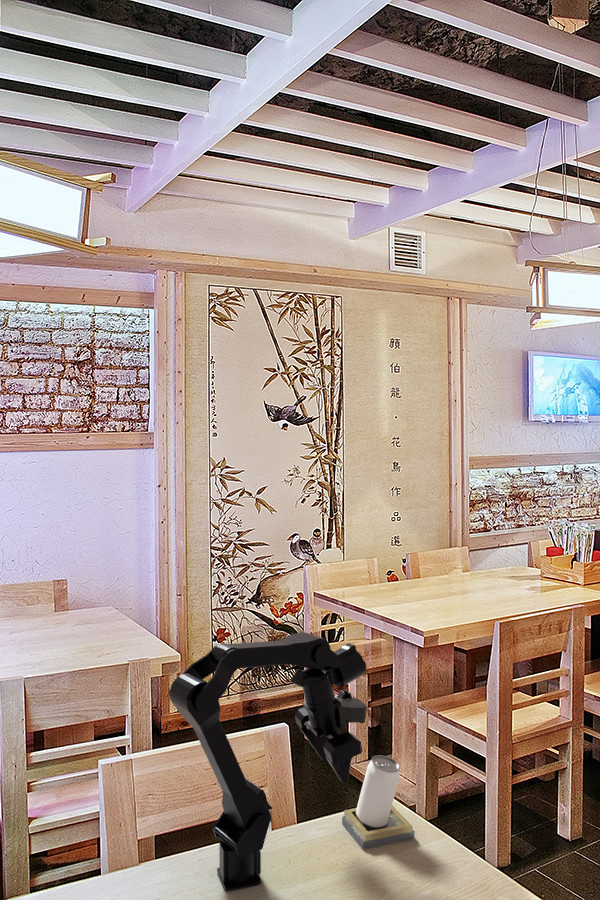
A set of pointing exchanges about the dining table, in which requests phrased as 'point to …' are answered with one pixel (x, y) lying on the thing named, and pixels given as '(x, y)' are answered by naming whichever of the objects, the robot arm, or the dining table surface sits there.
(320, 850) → the dining table surface
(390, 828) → the gold square coaster
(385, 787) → the can
